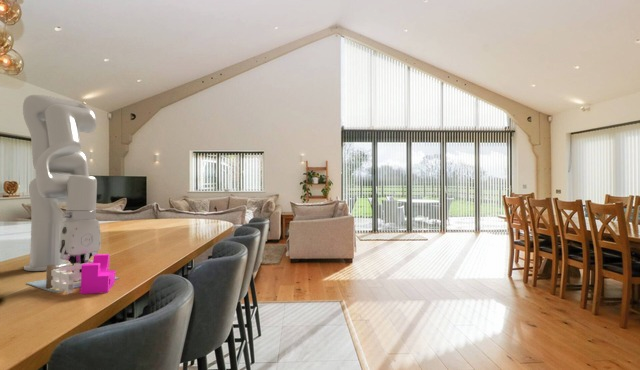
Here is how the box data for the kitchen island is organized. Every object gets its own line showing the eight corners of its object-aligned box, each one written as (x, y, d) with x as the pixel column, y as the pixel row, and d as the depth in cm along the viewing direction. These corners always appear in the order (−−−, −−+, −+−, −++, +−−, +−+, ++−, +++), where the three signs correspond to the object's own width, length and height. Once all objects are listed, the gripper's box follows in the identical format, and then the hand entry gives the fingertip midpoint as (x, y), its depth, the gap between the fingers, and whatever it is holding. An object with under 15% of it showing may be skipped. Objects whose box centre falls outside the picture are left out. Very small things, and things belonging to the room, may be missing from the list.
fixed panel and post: (44, 289, 97) (45, 265, 97) (52, 287, 98) (53, 264, 98) (66, 295, 91) (67, 271, 91) (74, 294, 93) (74, 269, 93)
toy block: (107, 292, 95) (108, 264, 95) (80, 294, 92) (81, 265, 92) (117, 277, 109) (118, 253, 109) (94, 279, 106) (95, 254, 106)
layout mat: (26, 283, 101) (26, 282, 101) (90, 272, 117) (90, 270, 117) (54, 292, 93) (54, 290, 93) (119, 278, 109) (119, 277, 109)
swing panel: (58, 284, 98) (58, 267, 98) (55, 284, 99) (56, 266, 99) (94, 276, 108) (94, 260, 108) (91, 276, 108) (92, 260, 108)
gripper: (64, 218, 98) (62, 284, 98) (112, 215, 112) (110, 272, 112) (46, 217, 101) (43, 281, 100) (95, 213, 115) (93, 270, 115)
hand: (78, 276), depth 106 cm, fingers closed
